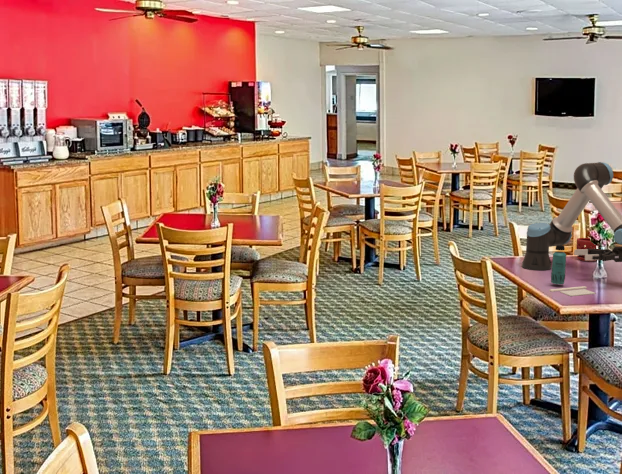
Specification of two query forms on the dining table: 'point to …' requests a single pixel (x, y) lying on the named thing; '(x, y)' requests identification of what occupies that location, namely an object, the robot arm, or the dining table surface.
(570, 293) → the mat
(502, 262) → the dining table surface
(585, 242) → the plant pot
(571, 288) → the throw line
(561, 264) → the beverage bottle
